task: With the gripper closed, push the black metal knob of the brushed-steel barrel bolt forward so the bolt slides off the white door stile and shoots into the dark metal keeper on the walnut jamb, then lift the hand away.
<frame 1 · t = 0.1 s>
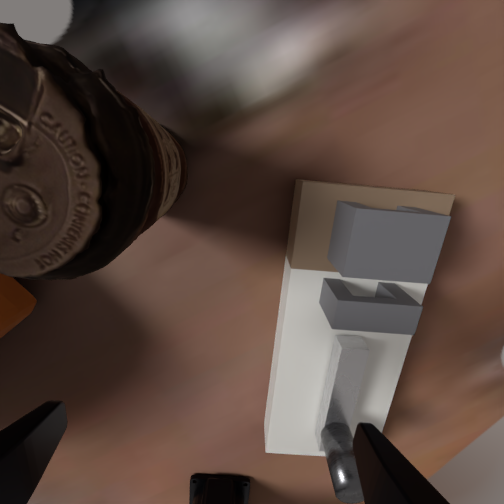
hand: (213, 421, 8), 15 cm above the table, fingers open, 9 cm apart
door lock board: (333, 323, 24), on the table
coffee cup: (148, 165, 20), on the table
bolt: (347, 418, 20), point 6 cm above the table, slide at 0.0 cm
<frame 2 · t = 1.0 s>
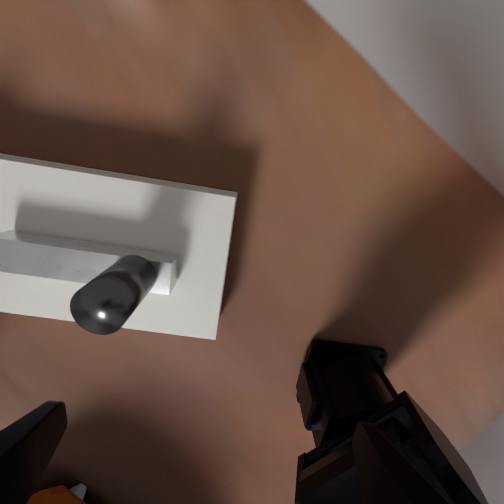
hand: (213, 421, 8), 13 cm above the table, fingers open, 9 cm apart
door lock board: (63, 234, 20), on the table
bolt: (68, 275, 14), point 6 cm above the table, slide at 0.0 cm
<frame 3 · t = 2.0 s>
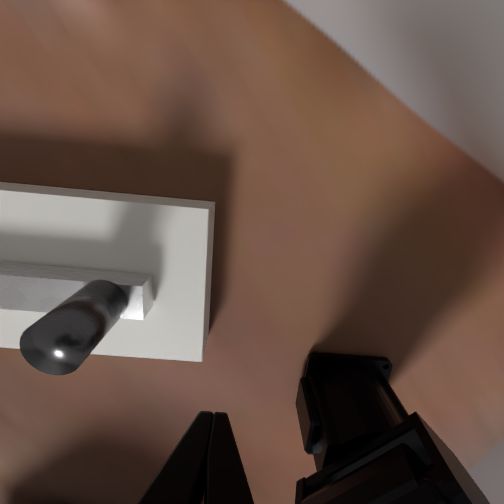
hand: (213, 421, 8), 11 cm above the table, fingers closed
door lock board: (36, 258, 19), on the table
bolt: (28, 307, 13), point 6 cm above the table, slide at 0.0 cm
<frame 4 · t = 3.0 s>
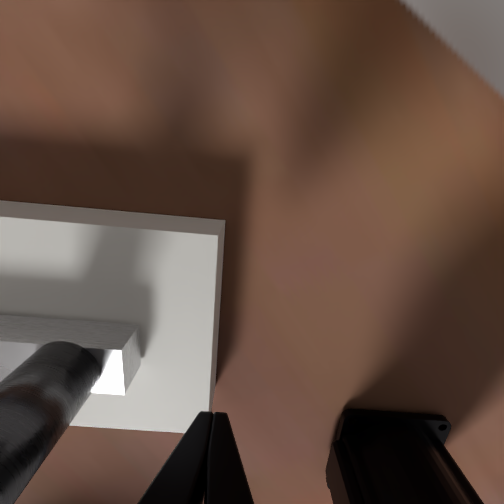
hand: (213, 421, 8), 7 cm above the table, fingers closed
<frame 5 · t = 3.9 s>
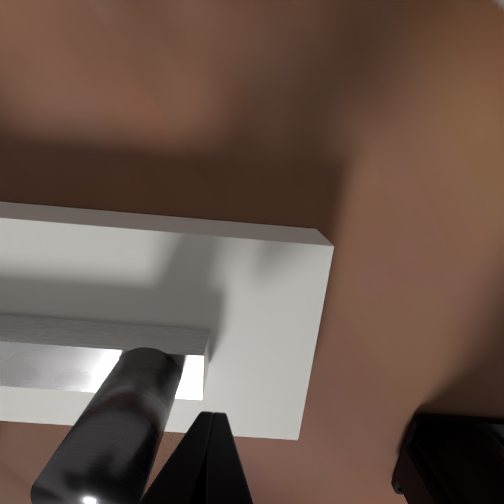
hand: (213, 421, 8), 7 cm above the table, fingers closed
door lock board: (77, 301, 14), on the table
bolt: (41, 395, 9), point 6 cm above the table, slide at 1.6 cm, touching gripper
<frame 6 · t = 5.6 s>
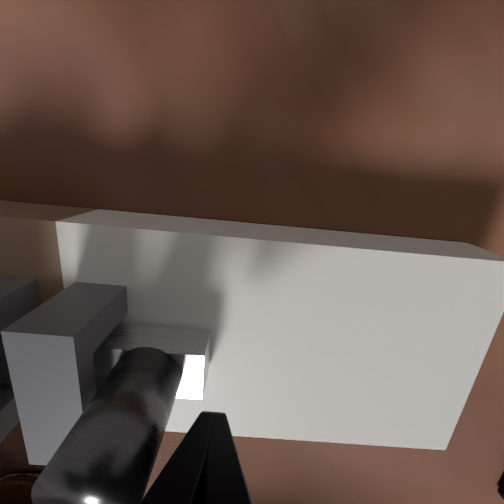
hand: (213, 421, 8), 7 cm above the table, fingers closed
door lock board: (218, 312, 15), on the table
coffee cup: (37, 495, 19), on the table
bolt: (41, 394, 9), point 6 cm above the table, slide at 9.0 cm, touching gripper
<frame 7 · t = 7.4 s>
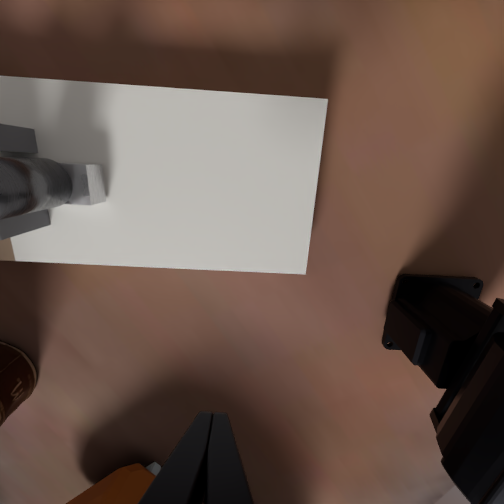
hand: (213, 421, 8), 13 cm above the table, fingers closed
door lock board: (128, 180, 18), on the table
coffee cup: (0, 367, 23), on the table
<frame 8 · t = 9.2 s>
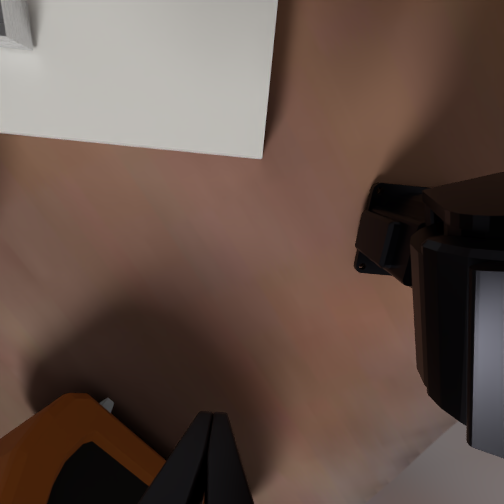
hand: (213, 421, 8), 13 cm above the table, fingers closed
door lock board: (71, 52, 16), on the table
orange tape measure: (140, 463, 27), on the table
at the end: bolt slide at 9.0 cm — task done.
